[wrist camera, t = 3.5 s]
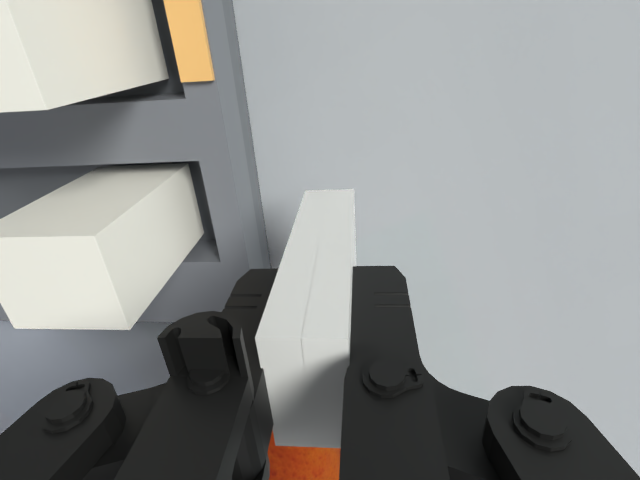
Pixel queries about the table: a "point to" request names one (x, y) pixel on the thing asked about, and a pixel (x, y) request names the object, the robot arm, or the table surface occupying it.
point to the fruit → (303, 462)
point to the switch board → (161, 151)
